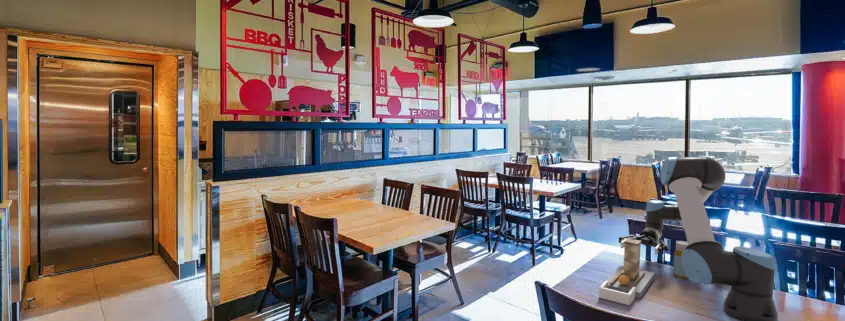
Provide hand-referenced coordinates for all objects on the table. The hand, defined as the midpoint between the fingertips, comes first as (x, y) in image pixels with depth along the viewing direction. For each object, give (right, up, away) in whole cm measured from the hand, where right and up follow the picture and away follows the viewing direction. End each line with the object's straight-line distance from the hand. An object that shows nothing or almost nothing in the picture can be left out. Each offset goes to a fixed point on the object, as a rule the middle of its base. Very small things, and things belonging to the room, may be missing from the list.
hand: (638, 248), depth 184 cm
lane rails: (-10, -11, -11) cm, 18 cm away
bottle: (+19, -12, -1) cm, 22 cm away
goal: (-20, -15, -22) cm, 33 cm away
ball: (-14, -11, -16) cm, 24 cm away
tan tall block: (-7, -10, -8) cm, 15 cm away
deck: (-8, -13, -8) cm, 18 cm away
